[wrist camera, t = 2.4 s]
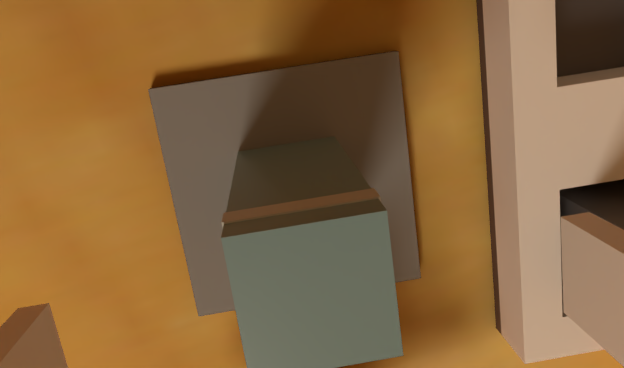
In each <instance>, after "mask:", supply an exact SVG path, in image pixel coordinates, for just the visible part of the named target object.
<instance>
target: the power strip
mask: <svg viewBox="0 0 624 368" xmlns="http://www.w3.org/2000/svg"><path fill="white" fill-rule="evenodd" d="M477 15H478V32H479V49H480V65H481V82H482V99H483V115H484V132H485V149H486V165H487V182H488V199H489V215H490V232H491V249H492V265H493V282H494V299H495V315H496V328H497V329H498V331H499V332H500V333H501V335H502V336H503V337H504V338H505V340H506V341H507V342H508V343H509V345H510V346H511V347H512V348H513V350H514V351H515V352H516V353H517V355H518V356H519V357H520V358H521V360H522V361H523V362H524V363H525V364H527V363H532V362H538V361H543V360H549V359H554V358H560V357H565V356H571V355H576V354H582V353H587V352H593V351H598V350H604V348H602V347H601V346H600V345H599V344H598V343H597V342H596V341H595V340H594V339H592V338H591V337H590V336H589V335H588V334H587V333H586V332H585V331H584V330H582V329H581V328H580V327H579V326H578V325H577V324H576V323H575V322H574V321H572V320H571V319H570V318H569V317H568V316H567V315H566V314H565V313H564V309H563V282H562V273H561V231H560V190H561V189H567V188H573V187H579V186H585V185H591V184H597V183H603V182H609V181H615V180H621V179H624V0H477Z"/></svg>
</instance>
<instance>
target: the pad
mask: <svg viewBox="0 0 624 368" xmlns="http://www.w3.org/2000/svg"><path fill="white" fill-rule="evenodd" d="M148 90H149V95H150V99H151V104H152V108H153V113H154V117H155V122H156V126H157V131H158V135H159V140H160V144H161V149H162V153H163V158H164V162H165V167H166V171H167V176H168V180H169V185H170V189H171V194H172V198H173V203H174V207H175V212H176V217H177V221H178V226H179V230H180V235H181V239H182V244H183V248H184V253H185V257H186V262H187V266H188V271H189V275H190V280H191V284H192V289H193V293H194V298H195V302H196V307H197V311H198V316H204V315H210V314H215V313H221V312H227V311H233V310H235V305H234V300H233V295H232V290H231V285H230V280H229V275H228V270H227V265H226V261H225V256H224V251H223V246H222V241H221V235H222V230H223V228H222V223H221V222H222V217H223V213H225V212H226V210H227V205H228V200H229V195H230V190H231V185H232V179H233V174H234V169H235V164H236V159H237V154H238V151H245V150H251V149H257V148H263V147H270V146H276V145H282V144H289V143H295V142H301V141H308V140H314V139H320V138H326V137H333V136H335V138H336V139H337V141H338V142H339V143H340V145H341V146H342V148H343V149H344V150H345V152H346V153H347V155H348V156H349V158H350V159H351V160H352V162H353V163H354V165H355V166H356V167H357V169H358V170H359V172H360V173H361V174H362V176H363V177H364V179H365V180H366V182H367V183H368V184H369V186H370V187H371V188H374V189H375V190H376V191H377V193H378V194H379V195H380V199H381V203H382V204H383V206H384V207H385V208H386V210H387V215H388V224H389V233H390V242H391V251H392V259H393V268H394V277H395V282H401V281H407V280H413V279H419V278H421V275H420V265H419V255H418V245H417V234H416V224H415V214H414V204H413V194H412V184H411V174H410V164H409V153H408V143H407V133H406V123H405V113H404V103H403V93H402V83H401V72H400V62H399V52H398V51H391V52H385V53H378V54H372V55H365V56H359V57H352V58H346V59H339V60H332V61H326V62H319V63H313V64H306V65H300V66H293V67H287V68H280V69H273V70H267V71H260V72H254V73H247V74H241V75H234V76H228V77H221V78H214V79H208V80H201V81H195V82H188V83H182V84H175V85H169V86H162V87H156V88H150V89H148Z"/></svg>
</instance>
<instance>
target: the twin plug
mask: <svg viewBox="0 0 624 368" xmlns="http://www.w3.org/2000/svg"><path fill="white" fill-rule="evenodd" d="M586 212H590V213H592V214H594V215H596V216H598V217H600V218H602V219H604V220H605V221H607V222H609V223H611V224H613V225H615V226H617V227H619V228H621V229H623V230H624V179H621V180H615V181H609V182H603V183H597V184H591V185H585V186H579V187H573V188H567V189H561V190H560V231H561V217H562V216H568V215H574V214H580V213H586ZM561 273H562V246H561ZM562 282H563V278H562Z"/></svg>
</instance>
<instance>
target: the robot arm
mask: <svg viewBox="0 0 624 368" xmlns="http://www.w3.org/2000/svg"><path fill="white" fill-rule="evenodd" d="M561 246H562V278H563V309H564V313H565V314H566V315H567V316H568V317H569V318H570V319H571V320H572V321H574V322H575V323H576V324H577V325H578V326H579V327H580V328H581V329H582V330H584V331H585V332H586V333H587V334H588V335H589V336H590V337H591V338H592V339H594V340H595V341H596V342H597V343H598V344H599V345H600V346H601V347H602V348H604V349H605V350H606V351H607V352H608V353H609V354H610V355H611V356H612V357H614V358H615V359H616V360H617V361H618V362H619V363H620V364H621V365H622V366H624V230H623V229H621V228H619V227H617V226H615V225H613V224H611V223H609V222H607V221H605V220H604V219H602V218H600V217H598V216H596V215H594V214H592V213H590V212H586V213H580V214H574V215H568V216H562V217H561ZM0 368H68V366H67V363H66V360H65V356H64V353H63V349H62V346H61V343H60V339H59V336H58V332H57V329H56V325H55V322H54V319H53V315H52V312H51V308H50V305H49V303H47V304H41V305H35V306H29V307H23V308H18V309H17V310H16V311H15V312H14V313H13V314H12V315H11V316H10V317H9V318H8V320H7V321H6V322H5V323H4V324H3V325H2V326H1V327H0Z"/></svg>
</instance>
